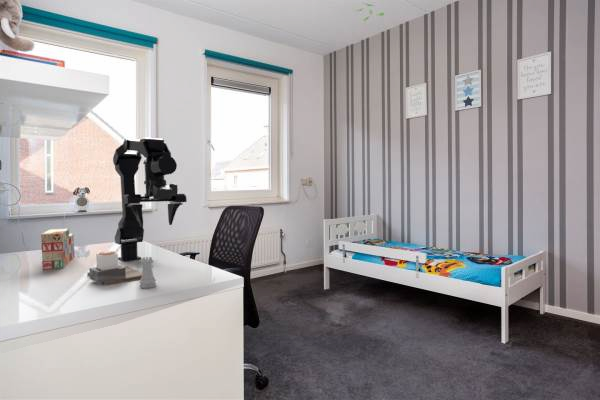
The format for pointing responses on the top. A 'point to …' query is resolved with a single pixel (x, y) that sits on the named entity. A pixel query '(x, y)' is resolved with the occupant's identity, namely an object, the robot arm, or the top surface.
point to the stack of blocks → (57, 248)
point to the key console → (114, 275)
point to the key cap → (107, 260)
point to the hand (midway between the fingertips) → (156, 225)
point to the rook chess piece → (147, 274)
